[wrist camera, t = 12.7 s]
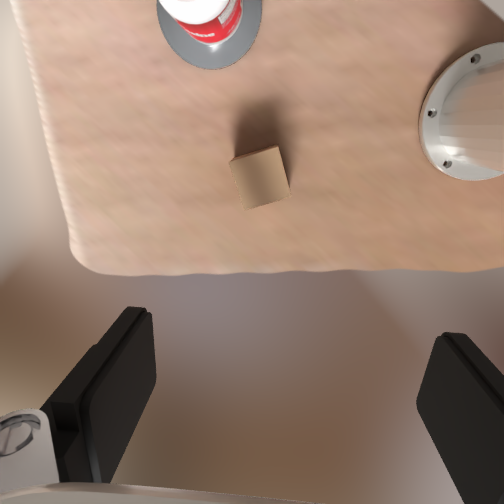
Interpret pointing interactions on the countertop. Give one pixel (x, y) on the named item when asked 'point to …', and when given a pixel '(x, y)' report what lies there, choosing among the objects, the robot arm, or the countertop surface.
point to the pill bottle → (206, 18)
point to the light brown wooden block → (260, 177)
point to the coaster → (213, 54)
